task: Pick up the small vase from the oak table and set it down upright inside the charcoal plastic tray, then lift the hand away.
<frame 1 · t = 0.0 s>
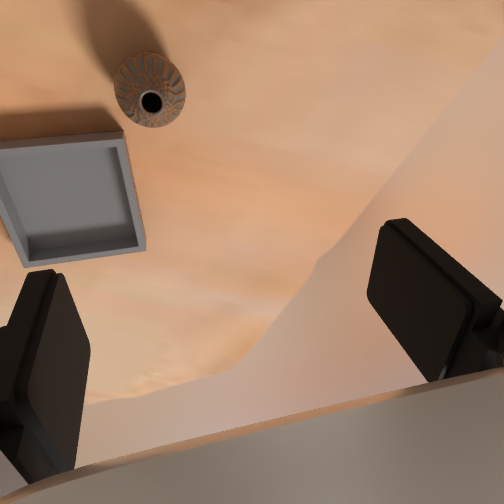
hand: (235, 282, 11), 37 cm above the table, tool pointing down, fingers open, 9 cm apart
tray: (73, 196, 46), on the table
vase: (150, 83, 41), on the table
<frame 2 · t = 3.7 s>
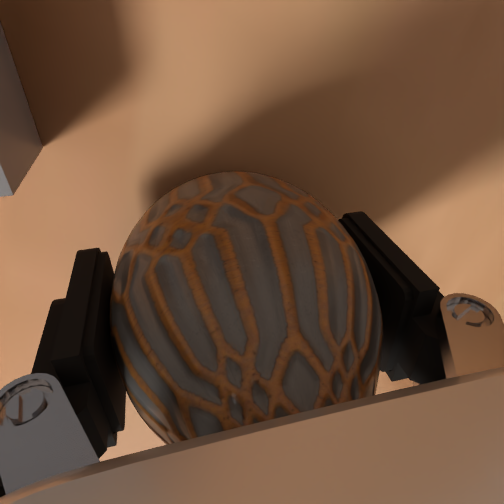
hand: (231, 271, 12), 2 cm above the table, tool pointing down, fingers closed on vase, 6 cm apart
vase: (219, 234, 14), on the table, touching gripper
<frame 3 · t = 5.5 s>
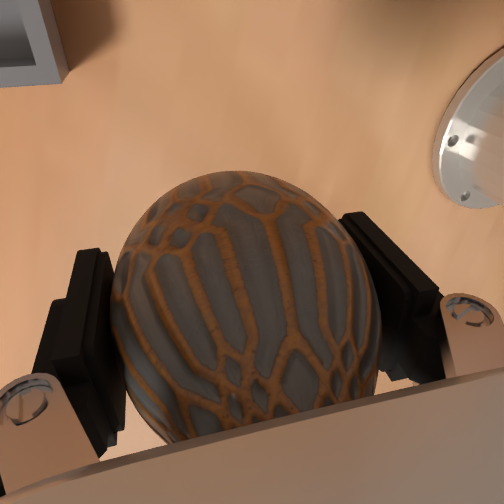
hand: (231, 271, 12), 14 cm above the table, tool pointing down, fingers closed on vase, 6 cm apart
vase: (219, 234, 14), point 12 cm above the table, touching gripper
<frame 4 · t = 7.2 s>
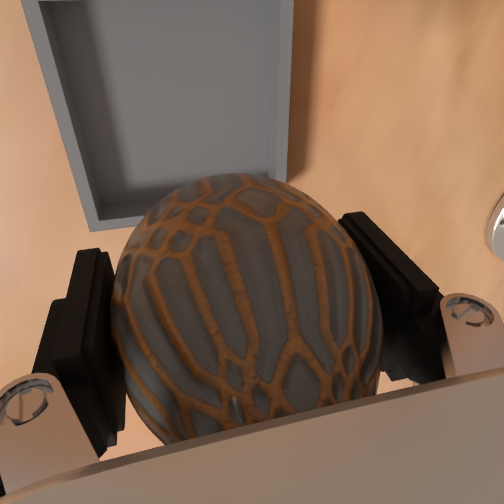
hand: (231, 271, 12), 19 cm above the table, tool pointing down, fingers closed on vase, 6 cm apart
tray: (177, 108, 27), on the table
vase: (220, 236, 14), point 17 cm above the table, touching gripper
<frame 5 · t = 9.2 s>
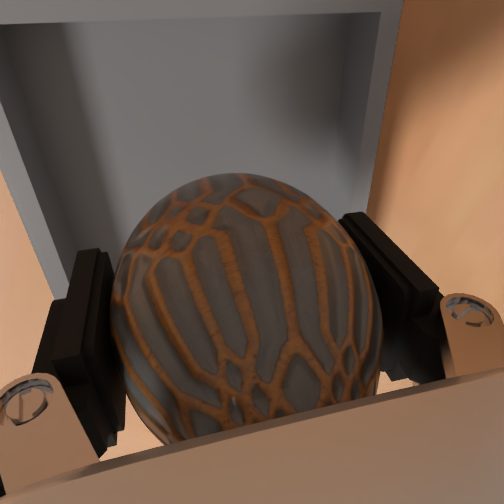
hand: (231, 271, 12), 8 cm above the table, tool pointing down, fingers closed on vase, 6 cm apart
tray: (202, 172, 18), on the table
vase: (220, 236, 14), point 6 cm above the table, touching gripper
when the fingers open (5 cm above the table, at t = 10.9 s): vase drops 2 cm, resting on tray.
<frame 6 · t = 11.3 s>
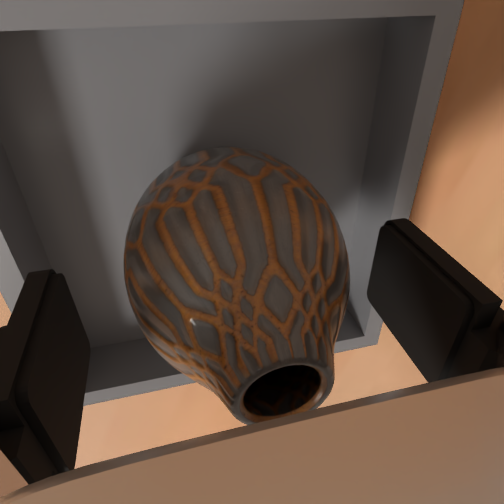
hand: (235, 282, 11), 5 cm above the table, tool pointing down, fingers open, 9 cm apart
tray: (209, 202, 16), on the table
vase: (215, 207, 15), resting on tray
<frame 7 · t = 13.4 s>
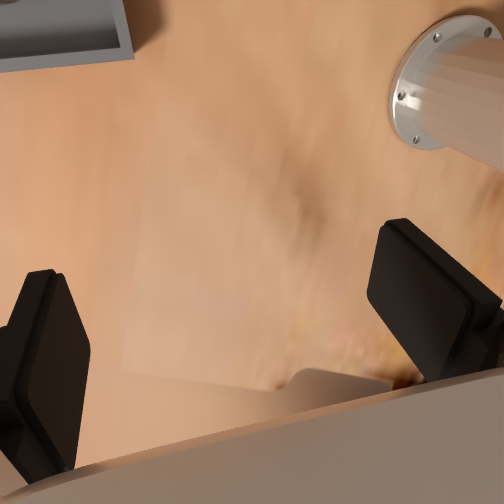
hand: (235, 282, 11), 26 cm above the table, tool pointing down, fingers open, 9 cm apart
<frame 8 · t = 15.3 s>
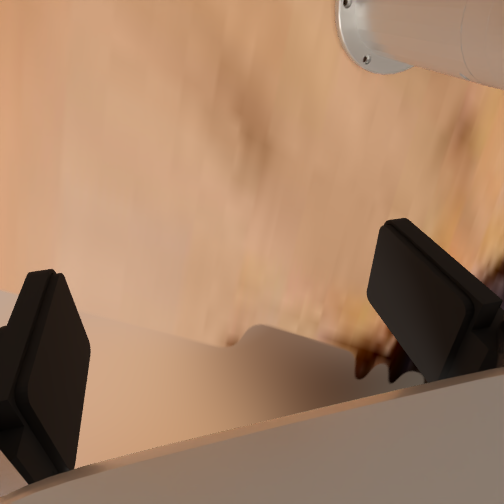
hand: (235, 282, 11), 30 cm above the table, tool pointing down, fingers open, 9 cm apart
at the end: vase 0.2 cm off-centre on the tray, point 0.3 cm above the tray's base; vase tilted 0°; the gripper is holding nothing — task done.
